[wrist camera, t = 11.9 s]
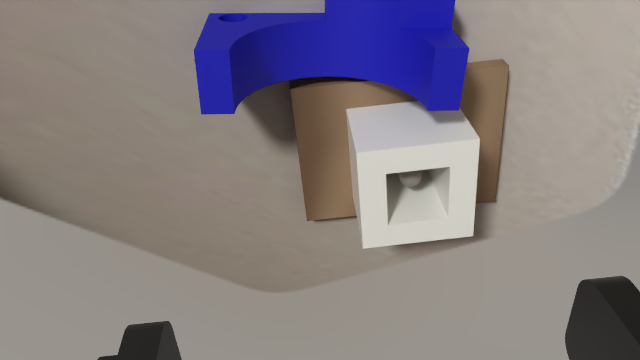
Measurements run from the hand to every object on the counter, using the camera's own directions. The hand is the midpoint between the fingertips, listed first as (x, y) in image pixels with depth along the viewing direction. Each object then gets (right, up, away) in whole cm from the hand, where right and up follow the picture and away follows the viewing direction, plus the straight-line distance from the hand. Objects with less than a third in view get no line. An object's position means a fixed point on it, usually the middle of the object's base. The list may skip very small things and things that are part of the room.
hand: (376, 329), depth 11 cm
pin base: (+4, +5, +22) cm, 23 cm away
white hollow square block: (+4, +5, +21) cm, 22 cm away
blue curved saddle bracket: (-1, +11, +18) cm, 22 cm away
